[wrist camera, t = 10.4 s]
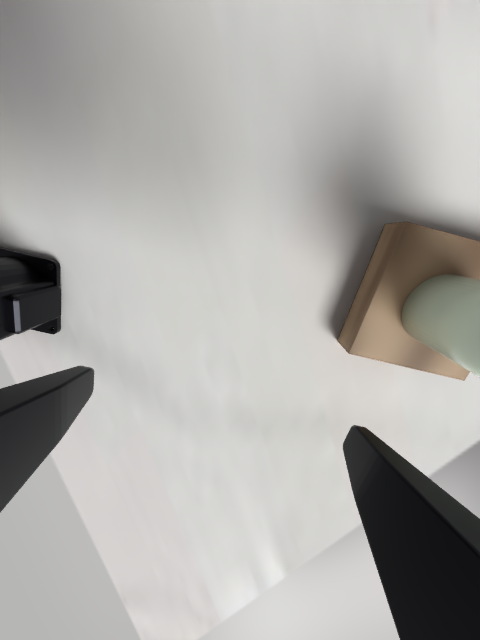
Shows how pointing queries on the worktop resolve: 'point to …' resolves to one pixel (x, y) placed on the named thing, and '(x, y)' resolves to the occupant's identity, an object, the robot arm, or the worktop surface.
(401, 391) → the worktop surface
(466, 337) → the cream-capped mint cylinder
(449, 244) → the base
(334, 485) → the worktop surface
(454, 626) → the robot arm
